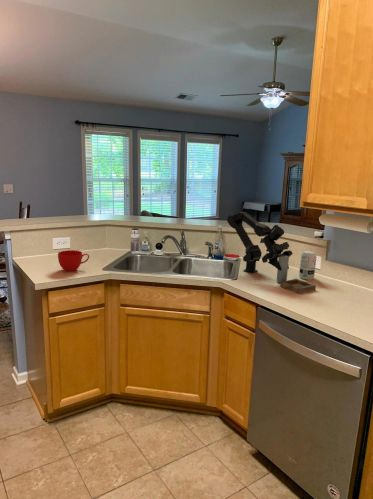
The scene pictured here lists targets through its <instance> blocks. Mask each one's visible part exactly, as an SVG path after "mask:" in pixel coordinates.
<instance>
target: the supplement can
mask: <svg viewBox="0 0 373 499" xmlns="http://www.w3.org/2000/svg"><path fill="white" fill-rule="evenodd" d="M316 262H317V253H316V251H312V250H303V251H302V252H301V254H300V264H299V272H298V276H299V279H301V280H313V279H315V272H316Z"/></svg>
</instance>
